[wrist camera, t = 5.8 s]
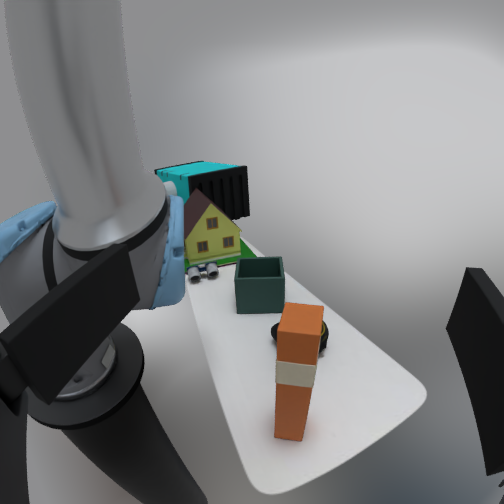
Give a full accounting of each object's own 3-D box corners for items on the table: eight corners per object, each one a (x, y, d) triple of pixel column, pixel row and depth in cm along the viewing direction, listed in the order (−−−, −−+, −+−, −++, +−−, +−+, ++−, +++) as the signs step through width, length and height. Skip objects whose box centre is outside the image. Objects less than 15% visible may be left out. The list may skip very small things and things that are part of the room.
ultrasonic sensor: (189, 284, 57) (188, 276, 54) (187, 274, 58) (185, 265, 55) (219, 277, 59) (219, 269, 56) (215, 268, 60) (216, 258, 57)
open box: (237, 313, 47) (234, 279, 44) (239, 289, 53) (237, 257, 50) (284, 312, 47) (284, 278, 44) (281, 288, 53) (281, 256, 50)
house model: (172, 275, 58) (162, 214, 53) (163, 239, 75) (156, 192, 70) (257, 258, 63) (255, 199, 58) (230, 227, 80) (227, 181, 75)
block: (273, 437, 27) (276, 330, 20) (280, 412, 30) (285, 301, 23) (302, 442, 26) (321, 335, 19) (307, 416, 29) (324, 305, 22)
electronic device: (140, 220, 90) (133, 174, 84) (205, 202, 104) (202, 160, 98) (171, 241, 72) (163, 182, 66) (250, 217, 86) (247, 165, 79)
